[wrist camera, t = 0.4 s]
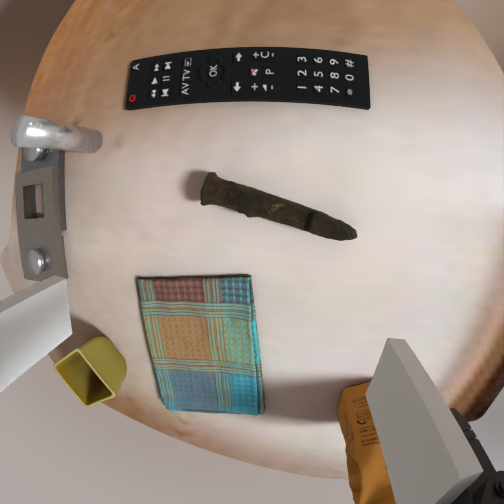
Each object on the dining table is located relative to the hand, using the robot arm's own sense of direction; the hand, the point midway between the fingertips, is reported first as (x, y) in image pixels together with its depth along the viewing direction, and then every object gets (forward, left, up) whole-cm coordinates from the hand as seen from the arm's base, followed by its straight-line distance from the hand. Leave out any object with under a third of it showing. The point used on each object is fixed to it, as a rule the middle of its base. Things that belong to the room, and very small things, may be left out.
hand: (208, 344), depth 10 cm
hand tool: (-3, +2, -27) cm, 28 cm away
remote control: (-20, -3, -28) cm, 35 cm away
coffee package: (+27, +18, -27) cm, 42 cm away
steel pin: (-13, -25, -27) cm, 39 cm away
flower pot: (+21, -26, -27) cm, 43 cm away
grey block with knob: (-1, -36, -27) cm, 45 cm away
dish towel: (+18, -9, -28) cm, 34 cm away
